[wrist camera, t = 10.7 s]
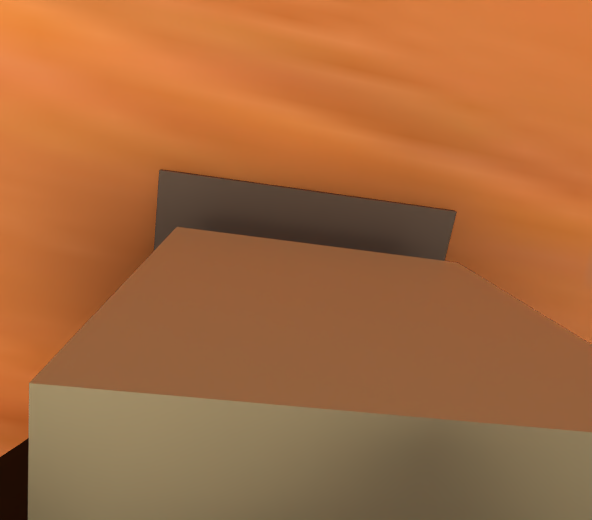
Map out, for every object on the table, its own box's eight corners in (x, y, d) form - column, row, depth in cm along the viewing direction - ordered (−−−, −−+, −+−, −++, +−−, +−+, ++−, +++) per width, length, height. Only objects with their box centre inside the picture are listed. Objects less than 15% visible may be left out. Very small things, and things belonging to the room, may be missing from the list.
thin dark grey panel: (453, 210, 13) (456, 211, 13) (394, 451, 15) (396, 455, 15) (161, 169, 12) (159, 170, 12) (143, 431, 14) (141, 435, 14)
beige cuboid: (393, 532, 12) (538, 951, 6) (151, 518, 11) (23, 975, 5) (457, 262, 10) (758, 447, 4) (177, 226, 9) (29, 382, 3)
